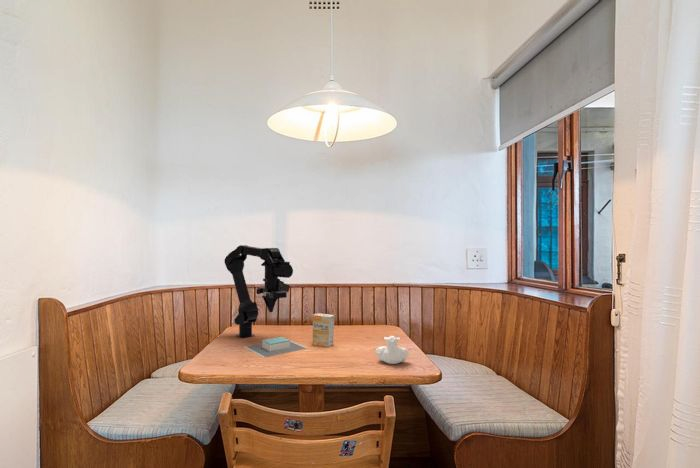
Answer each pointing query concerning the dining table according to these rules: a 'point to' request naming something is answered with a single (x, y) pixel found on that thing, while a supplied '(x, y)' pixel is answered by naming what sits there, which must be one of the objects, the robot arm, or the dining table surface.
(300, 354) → the dining table surface
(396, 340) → the white animal figurine
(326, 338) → the supplement box
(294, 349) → the mat
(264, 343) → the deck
